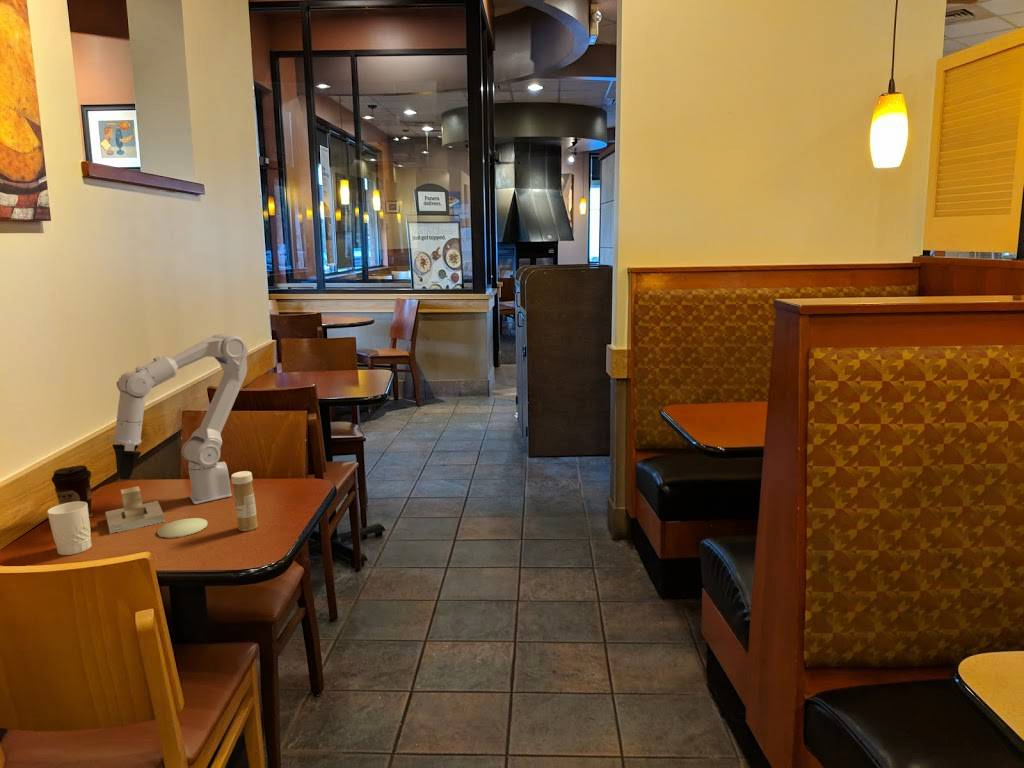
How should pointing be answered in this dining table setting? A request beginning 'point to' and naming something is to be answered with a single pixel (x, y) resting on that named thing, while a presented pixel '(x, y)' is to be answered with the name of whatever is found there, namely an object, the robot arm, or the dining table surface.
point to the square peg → (132, 502)
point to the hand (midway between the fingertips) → (123, 476)
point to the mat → (182, 527)
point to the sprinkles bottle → (244, 500)
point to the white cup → (70, 527)
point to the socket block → (134, 518)
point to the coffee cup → (73, 485)
